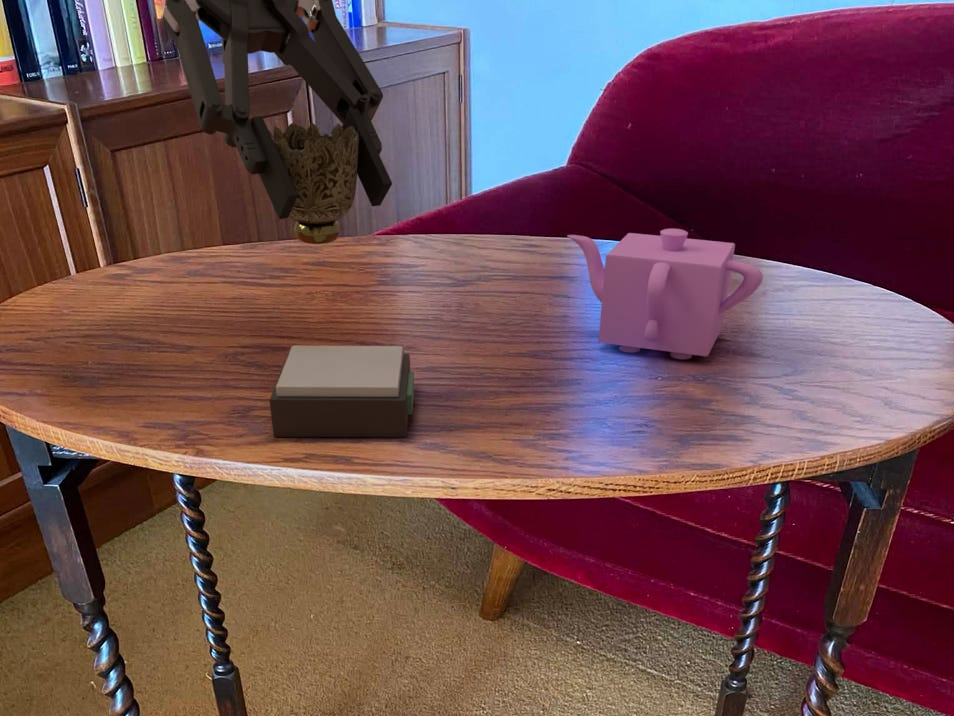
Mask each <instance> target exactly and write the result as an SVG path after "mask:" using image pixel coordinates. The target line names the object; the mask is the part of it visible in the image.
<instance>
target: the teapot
mask: <svg viewBox="0 0 954 716" xmlns="http://www.w3.org/2000/svg"><path fill="white" fill-rule="evenodd" d="M688 235H689V232H688V231H686V230H684V229H680V228H664V229H662V230H660V235H655V234H643V233H634V232H628V233H627V234H626V235H625V236H624V237H623V238H622V239H620V241H619V242H618V243H617V244H616V245H615V246H613V248H612V249H611V250H610V251H609V252H607V254H606V255H605V263H604V264H603V260H602V257H601V253H600V250H599V247H598V246H597V244H596V243H595V241H594V240H593V239H592V238H591V237H588V236H584V235H579V234H567V235H566V236H567V238H568V239H570V240H572V241H573V242H574V243H575V244H577V245H578V246H579V247H580V249H581V250H582V252H583V255H584V257H585V261H586V264H587V269H588V270H587V271H588V279H589V282H590V286H591V289H592V292H593V294H594V295H595V297H596V299H597V300H598V301H599V302H600V303H601V308H600V319H599V329H598V330H599V332H598V341H597V342H598V343H602V344H610V345H616V346H619V350H620V351H621V352H624V353H638V352H640V351H641V349H647V350H655V351H662V352H669V356H670V357H671V358H673V359H676V360H689V359H691V358H692V357H693V356H701V357H709V355H710V353H711V351H712V349H713V346H714V344H715V343H716V341H717V339H718V337H719V334H720V332H721V331H722V328H723V322H724V318H725V312H726V311H728V310H731V309H732V308H733V307H735V306H737V305H738V304H740V303H742V302H744V301H745V300H746V299H748V298H749V297H750V296H752V295H753V294H754V293H755V292H756V291H757V290H758V289H759V287H760V286H761V284H762V282H763V279H764V275H763V272H762V271H761V269H760V268H758V267H756V266H754V265H752V264H749V263H746V262H742V261H737V260H734V255H735V248H736V244H735V243H734V242H725V241H716V240H706V239H696V238H688ZM732 272H734V273H738V274H740V275H741V276H742V277H743V279H742V282H741V284H740V285H739V286H738V287H737V288H736V289H735V290H734V292H733V293H732V294H731V295H730V296H728V292H729V286H730V281H731V280H730V279H731V273H732Z"/></svg>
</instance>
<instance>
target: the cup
mask: <svg viewBox="0 0 954 716" xmlns="http://www.w3.org/2000/svg"><path fill="white" fill-rule="evenodd" d="M358 132H359V131H358ZM358 132H357V133H356V132H355V129H354V127H353V126H350V127H348V128H346V129H345V130H344V131H343V128H342V125H341V124H340V123H336V124H335V125H334V126H333V127H332V130H331V133H330V135H331V136H330V135H329V134H328V133H326V132H325V133H324V134H323V135H321V133H320V131H319V126H318V125H317V124H315V123H314V122H311V123H310V124H309V125H308V127H307V128H305V127H304V126H303V125H299V124H296V123H294V122H291V123H290V124H289V125H288V126H287V128H286V129H285V130H284V132H283V131H282V128H280V127H278V126H277V125H274V126H273V134H272V132H271V130H269V133H270V135H271V137H272V139H273V141H274V144H275V146H276V148H277V150H278V152H279V155H280V157H281V159H282V161H283V163H284V166H285V168H286V170H287V172H288V174H289V177H290V179H291V181H292V183H293V185H294V188H295V190H296V192H297V194H298V196H297V199H296V201H295V203H294V206H293V208H292V210H291V213H290V215H289V217H288V219H291V220H293V221H294V222H295V223H294V227H293V232H294V234H295V236H296V239H298V241H300V242H302V243H304V244H309V245H325V244H326V245H327V244H330V243H331V244H332V243H333V242H335V241H337V240H338V239H339V237H340V234H341V231H342V229H341V226H340V224H339V223H340V222H338V220H341V219H343V218H344V217H345V216H346V215H347V214H348V213H349V211H350V210H351V208H352V206H353V203H354V201H355V197H356V189H357V181H358V179H357V178H358V174H357V165H358V143H359V134H358Z"/></svg>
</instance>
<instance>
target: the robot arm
mask: <svg viewBox="0 0 954 716" xmlns="http://www.w3.org/2000/svg"><path fill="white" fill-rule="evenodd" d="M199 22H201V23H202V24H204V25H205V26H206V27H207V28H208V29H210V30H211V31H212V32H214V33H215V34H216V35H218V36H219V37H220V38H221V49H222V51H221V52H222V64H223V66H224V70H223V71H224V99H225V102H224V103H225V104H224V103H223V99H222V96H221V92H220V90H219V89H220V88H219V86H218V83H217V79H216V76H215V72H214V69H213V66H212V62H211V59H210V56H209V52H208V49H207V46H206V42H205V39H204V35H203V32H202V29H201V25H200V23H199ZM161 24H162V26H163V28H164V29H165V30H166V32H167V33H168V35H169V37H170V38H171V40H172V41H173V42H174V44H175V46H176V48H177V52H178V56H179V59H180V62H181V66H182V69H183V73H184V76H185V80H186V82H187V86H188V89H189V93H190V96H191V100H192V103H193V106H194V111H195V114H196V116H197V120H198V124H199V126H200V127H199V128H200V129H201V131H203V133H205V134H206V135H210V136H211V135H214V134H216V133H217V132H219V133H223V134H224V138H223V139H224V142H225V143H226V144H227V145H228V146H229V147H231V148H236V150H237V152H238V154H239V156H240V159H241V161H242V162H243V164H244V167H245V170H246V171H247V172H249V174H250V175H258V176H259V178H260V180H261V183H262V185H263V186H264V189H265V191H266V193H267V195H268V198H269V201H270V202H271V204H272V207H273V209H274V212H275V213H276V215H277V218H278V220H284V219H289V215H290V213H291V210H292V208H293V206H294V203H295V201H296V199H297V196H298V194H297V192H296V190H295V188H294V185H293V183H292V181H291V179H290V177H289V174H288V172H287V170H286V168H285V166H284V163H283V161H282V159H281V157H280V155H279V152H278V150H277V148H276V146H275V144H274V141H273V139H272V137H271V135H270V133H269V131H270V130H269V128H268V126H267V124H266V122H265V120H264V118H263V116H262V115H261V116H260V115H259V116H251V117H252V118H251V119H250V114H251V106H250V81H249V79H250V78H249V54H256V53H257V52H265V53H269V54H275V56H276V57H277V58H278V59H279V60H280V61H281V62H282V63H283V65H284V66H286V67H287V66H291V67H292V68H293V69H294V71H295V72H296V73H297V74H298V75H299V76H300V77H301V78H302V79H303V81H304V82H305V83H306V84H307V85H308V87H310V89H311V90H312V91H313V93H315V95H316V96H318V97H319V99H320V100H321V101H322V102H323V103H324V104H325V106H326V107H327V108H328V109H329V110H330V112H331V113H332V114H333V115H334V116H335V117H336V118H337V119H338V120H339V122H340V123H341V124H342V125H341V126H342V128H343V131H344V130H345V129H346V128H348V127H350V126H353V127H354V129H355V132H356V133H357V132H358V131H359V132H358V134H359V143H358V165H357V178H358V179H359V181H360V183H361V186H362V188H363V190H364V192H365V194H366V196H367V198H368V200H369V203H370V205H371V207H378V206H381V205H382V203H383V202H384V199H386V196H387V194H388V193H389V191H390V189H391V188H392V186H393V181H392V180H391V177H390V175H389V173H388V171H387V168H386V167H385V165H384V164H385V163H384V162H383V160H382V158H381V155H380V154H381V152H382V150H383V144H382V142H381V139H380V137H379V134H378V133H377V130H376V128H375V127H374V124H373V122H372V121H373V119H374V117H375V115H376V113H377V111H378V108H379V107H380V104H381V102H382V100H383V98H384V93H383V91H382V89H381V87H380V86H379V84H378V83H377V81H376V80H375V77H374V76H373V75H372V73H371V71H370V70H369V68H368V66H367V65H366V63H365V61H364V60H363V58H362V57H361V55H360V53H359V51H358V50H357V48H356V47H355V45H354V43H353V42H352V40H351V38H350V36H349V34H348V33H347V32H346V29H345V28H344V27H343V25H342V23H341V21H340V20H339V19H338V17H337V14H336V9H335V6H334V2H333V0H165V2H164V7H163V12H162V18H161ZM311 34H312V36H311ZM312 37H313V38H312Z"/></svg>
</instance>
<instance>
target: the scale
mask: <svg viewBox="0 0 954 716" xmlns="http://www.w3.org/2000/svg"><path fill="white" fill-rule="evenodd" d="M410 355H411V354H410V353H404V346H402V345H292V346H291V348H290V350H289V352H288V353H287V355H286V357H285V360H284V363H283V364H282V367H281V369H280V372H279V375H278V377H277V380H276V383H275V385H274V387H273V390H272V393H271V395H270V398H269V400H268V401H269V407H270V408H269V410H270V416H271V423H272V433H273V437H274V438H407V434H408V433H407V432H408V421H409V415H413V411H414V398H415V372H414V371H411V356H410Z"/></svg>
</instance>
